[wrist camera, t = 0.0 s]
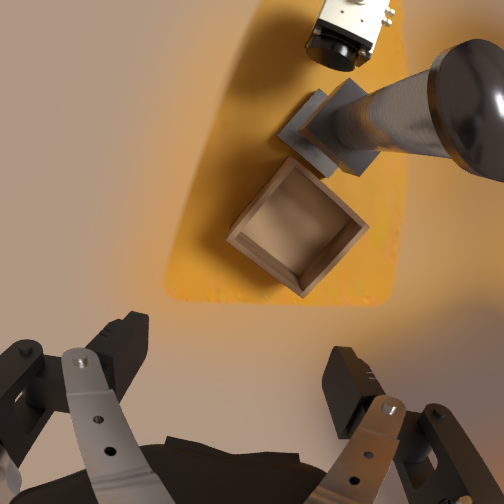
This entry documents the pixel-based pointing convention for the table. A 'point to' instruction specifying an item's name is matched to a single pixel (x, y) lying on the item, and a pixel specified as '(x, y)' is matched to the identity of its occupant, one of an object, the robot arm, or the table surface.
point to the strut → (421, 115)
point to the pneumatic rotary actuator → (347, 32)
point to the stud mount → (303, 144)
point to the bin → (296, 228)
